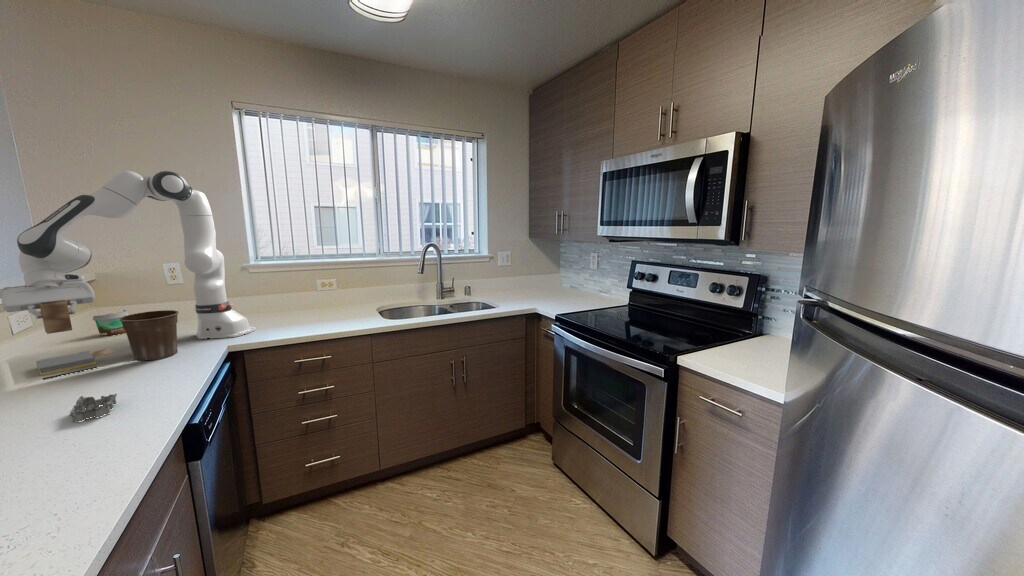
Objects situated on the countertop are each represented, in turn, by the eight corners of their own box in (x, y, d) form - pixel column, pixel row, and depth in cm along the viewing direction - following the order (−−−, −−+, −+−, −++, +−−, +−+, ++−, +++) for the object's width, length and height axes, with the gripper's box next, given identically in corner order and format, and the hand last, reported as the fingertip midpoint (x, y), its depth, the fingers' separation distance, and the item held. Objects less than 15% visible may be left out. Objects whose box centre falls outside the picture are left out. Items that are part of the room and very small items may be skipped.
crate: (70, 327, 132) (64, 299, 131) (72, 330, 129) (67, 301, 128) (44, 331, 128) (38, 302, 126) (46, 334, 125) (40, 304, 123)
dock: (90, 361, 139) (88, 351, 138) (97, 368, 132) (94, 357, 132) (38, 372, 129) (35, 361, 129) (42, 380, 122) (39, 368, 122)
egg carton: (83, 409, 103) (80, 395, 102) (121, 402, 107) (119, 388, 107) (66, 426, 94) (63, 410, 94) (109, 417, 98) (106, 402, 98)
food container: (106, 338, 168) (102, 316, 166) (96, 337, 169) (91, 315, 168) (138, 330, 180) (135, 310, 178) (128, 330, 181) (124, 309, 180)
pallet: (110, 352, 149) (109, 348, 149) (115, 356, 145) (114, 352, 144) (80, 358, 143) (79, 354, 142) (84, 362, 138) (83, 358, 138)
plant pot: (195, 351, 149) (188, 311, 146) (144, 365, 134) (136, 321, 131) (168, 347, 154) (161, 308, 152) (116, 361, 139) (108, 318, 137)
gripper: (-6, 282, 121) (3, 315, 117) (88, 274, 138) (99, 304, 134) (-3, 294, 124) (5, 327, 121) (89, 285, 141) (99, 314, 137)
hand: (55, 315), depth 127 cm, fingers closed on crate, 5 cm apart
